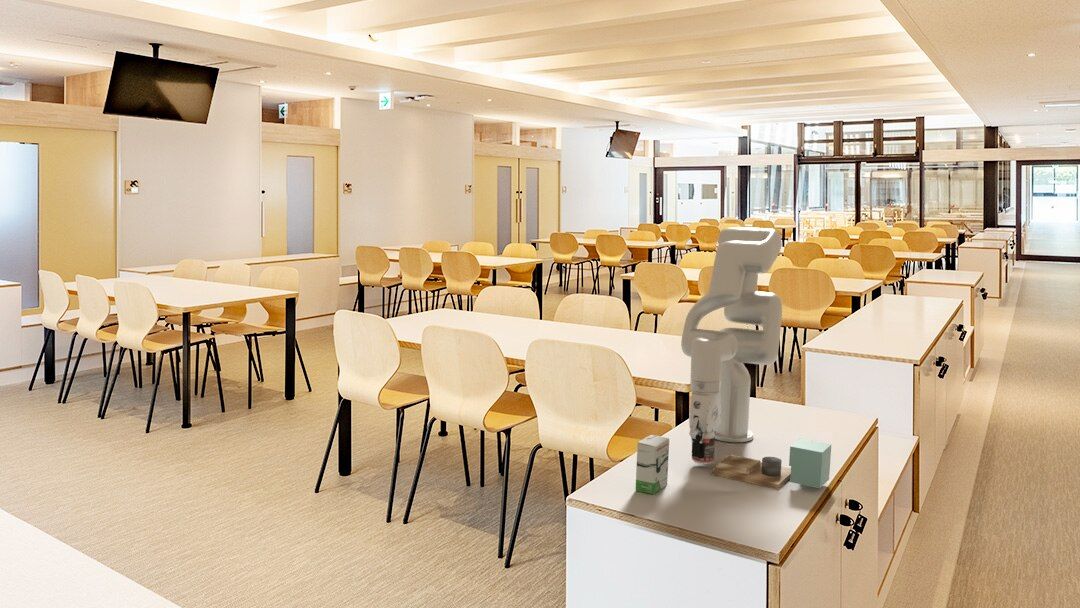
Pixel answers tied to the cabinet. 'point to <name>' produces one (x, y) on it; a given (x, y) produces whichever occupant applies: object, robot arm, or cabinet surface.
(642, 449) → the ink box
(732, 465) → the board
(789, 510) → the cabinet surface
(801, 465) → the mint green block
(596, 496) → the cabinet surface
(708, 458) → the pill bottle
